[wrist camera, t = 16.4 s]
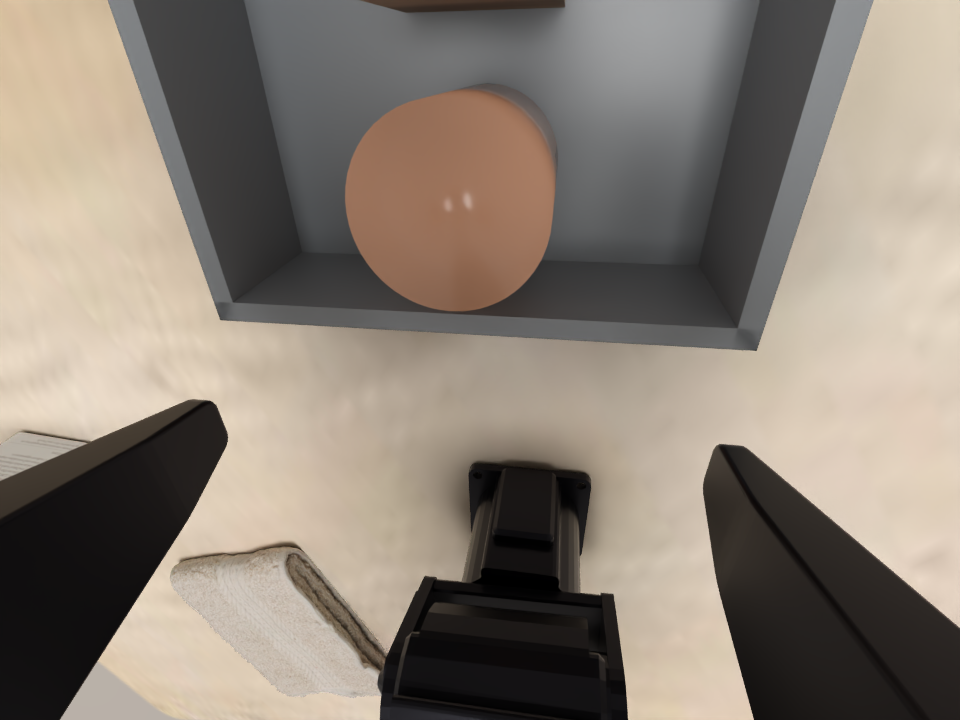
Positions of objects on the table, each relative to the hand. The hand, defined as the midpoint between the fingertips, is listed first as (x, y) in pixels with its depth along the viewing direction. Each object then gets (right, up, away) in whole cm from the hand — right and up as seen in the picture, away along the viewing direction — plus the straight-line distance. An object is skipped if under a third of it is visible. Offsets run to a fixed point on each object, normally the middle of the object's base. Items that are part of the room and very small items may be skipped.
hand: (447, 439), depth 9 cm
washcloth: (-14, -19, +31) cm, 39 cm away
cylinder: (+1, +9, +9) cm, 12 cm away
